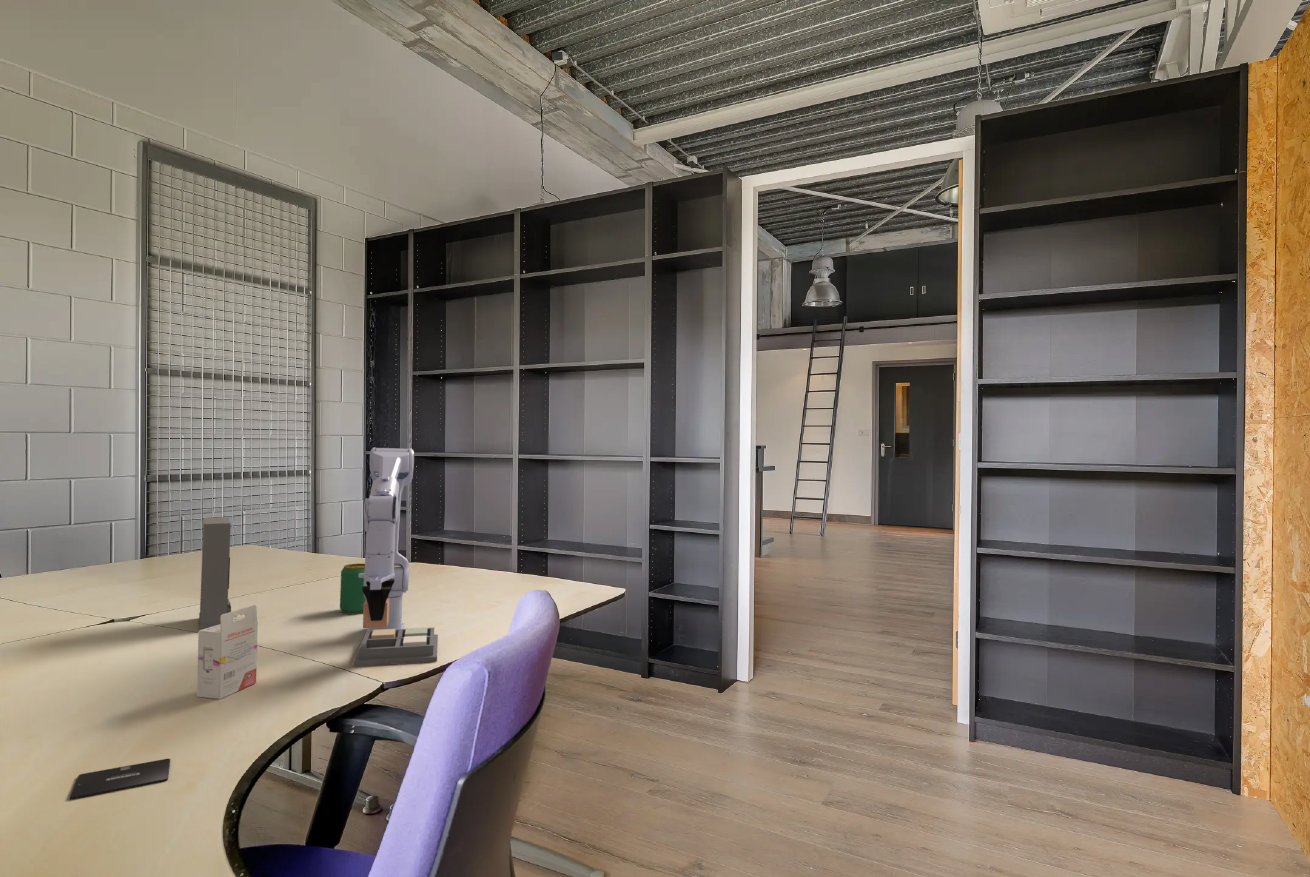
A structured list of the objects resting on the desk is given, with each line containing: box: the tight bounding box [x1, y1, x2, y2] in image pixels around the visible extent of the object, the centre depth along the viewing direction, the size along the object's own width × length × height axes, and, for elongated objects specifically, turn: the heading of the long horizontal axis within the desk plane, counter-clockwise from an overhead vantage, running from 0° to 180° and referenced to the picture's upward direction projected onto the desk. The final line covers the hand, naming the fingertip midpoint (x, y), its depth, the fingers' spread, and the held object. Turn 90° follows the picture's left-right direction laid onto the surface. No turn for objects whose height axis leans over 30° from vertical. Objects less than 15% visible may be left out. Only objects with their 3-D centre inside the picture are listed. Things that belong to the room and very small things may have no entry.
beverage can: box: [339, 563, 366, 615], centre depth 182 cm, size 8×8×12 cm
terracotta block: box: [362, 598, 389, 629], centre depth 144 cm, size 5×5×5 cm
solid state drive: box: [69, 758, 171, 801], centre depth 90 cm, size 7×10×1 cm
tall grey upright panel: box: [198, 517, 232, 630], centre depth 166 cm, size 14×6×25 cm, turn 34°
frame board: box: [353, 627, 439, 667], centre depth 148 cm, size 17×16×4 cm
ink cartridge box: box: [196, 604, 259, 700], centre depth 123 cm, size 9×5×15 cm, turn 168°
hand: (377, 617), depth 144 cm, fingers closed on terracotta block, 5 cm apart
